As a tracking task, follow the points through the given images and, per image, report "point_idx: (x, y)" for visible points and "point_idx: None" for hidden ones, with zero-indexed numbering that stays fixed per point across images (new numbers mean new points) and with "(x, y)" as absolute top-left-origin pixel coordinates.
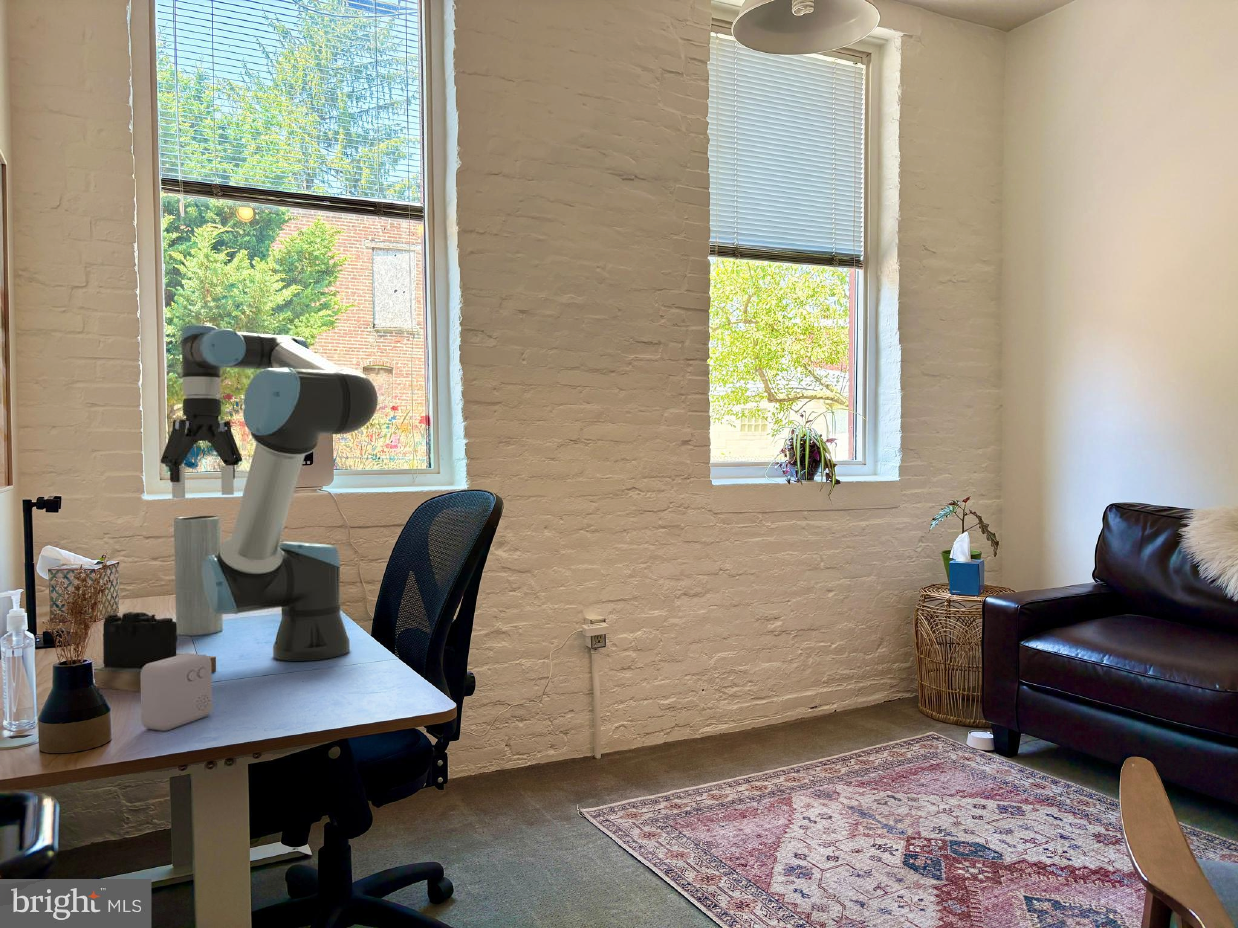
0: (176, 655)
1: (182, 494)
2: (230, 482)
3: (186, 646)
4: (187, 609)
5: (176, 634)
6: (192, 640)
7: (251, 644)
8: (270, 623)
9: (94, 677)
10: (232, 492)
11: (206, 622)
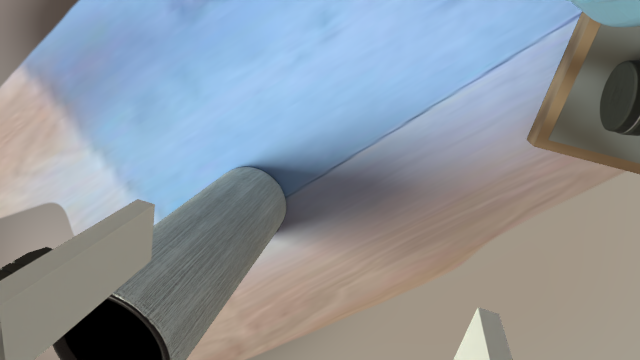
0: (597, 66)
1: (502, 328)
2: (104, 240)
3: (368, 162)
4: (271, 224)
5: (632, 62)
6: (319, 177)
7: (346, 43)
8: (165, 109)
9: None
10: (138, 206)
11: (265, 184)
